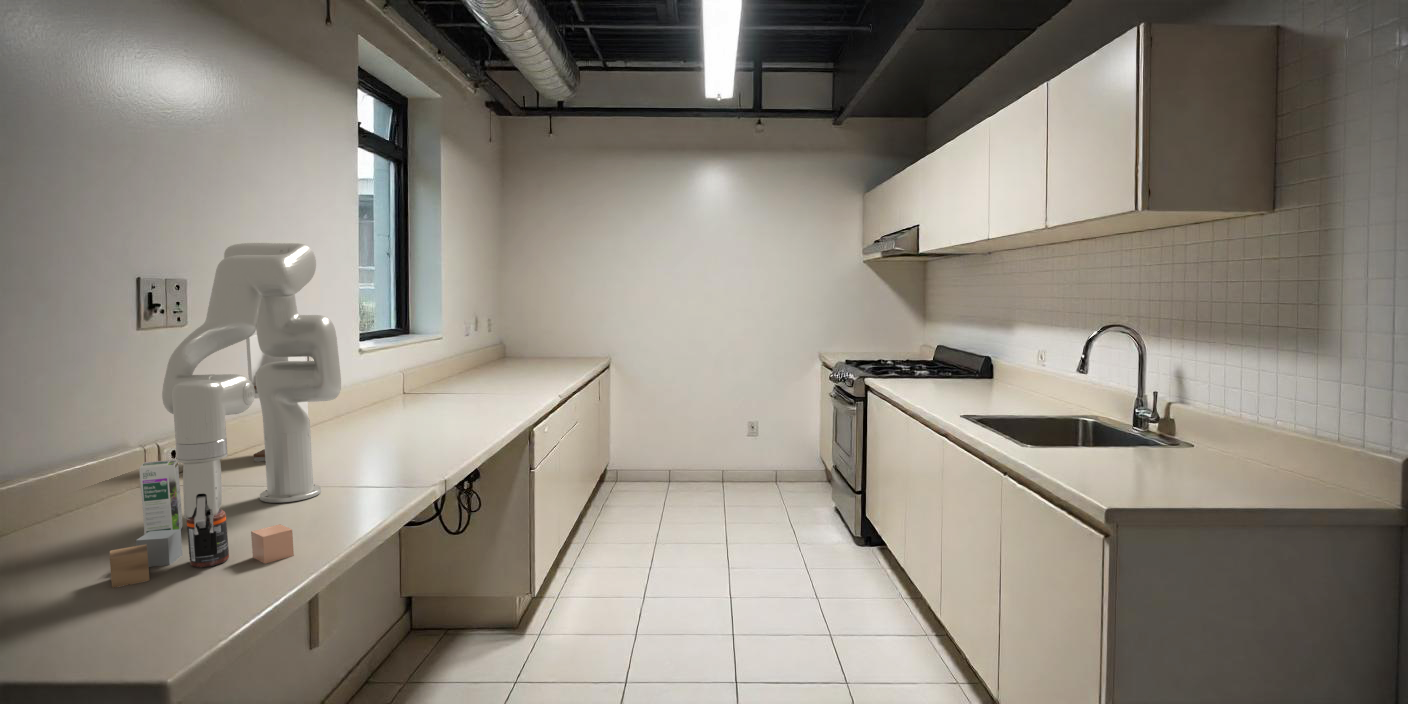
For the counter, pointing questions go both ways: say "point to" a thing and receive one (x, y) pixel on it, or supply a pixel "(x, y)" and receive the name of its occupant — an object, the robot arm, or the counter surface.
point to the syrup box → (161, 495)
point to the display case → (254, 364)
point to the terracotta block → (272, 543)
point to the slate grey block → (162, 546)
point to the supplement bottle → (222, 542)
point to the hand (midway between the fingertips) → (208, 548)
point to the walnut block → (129, 565)
